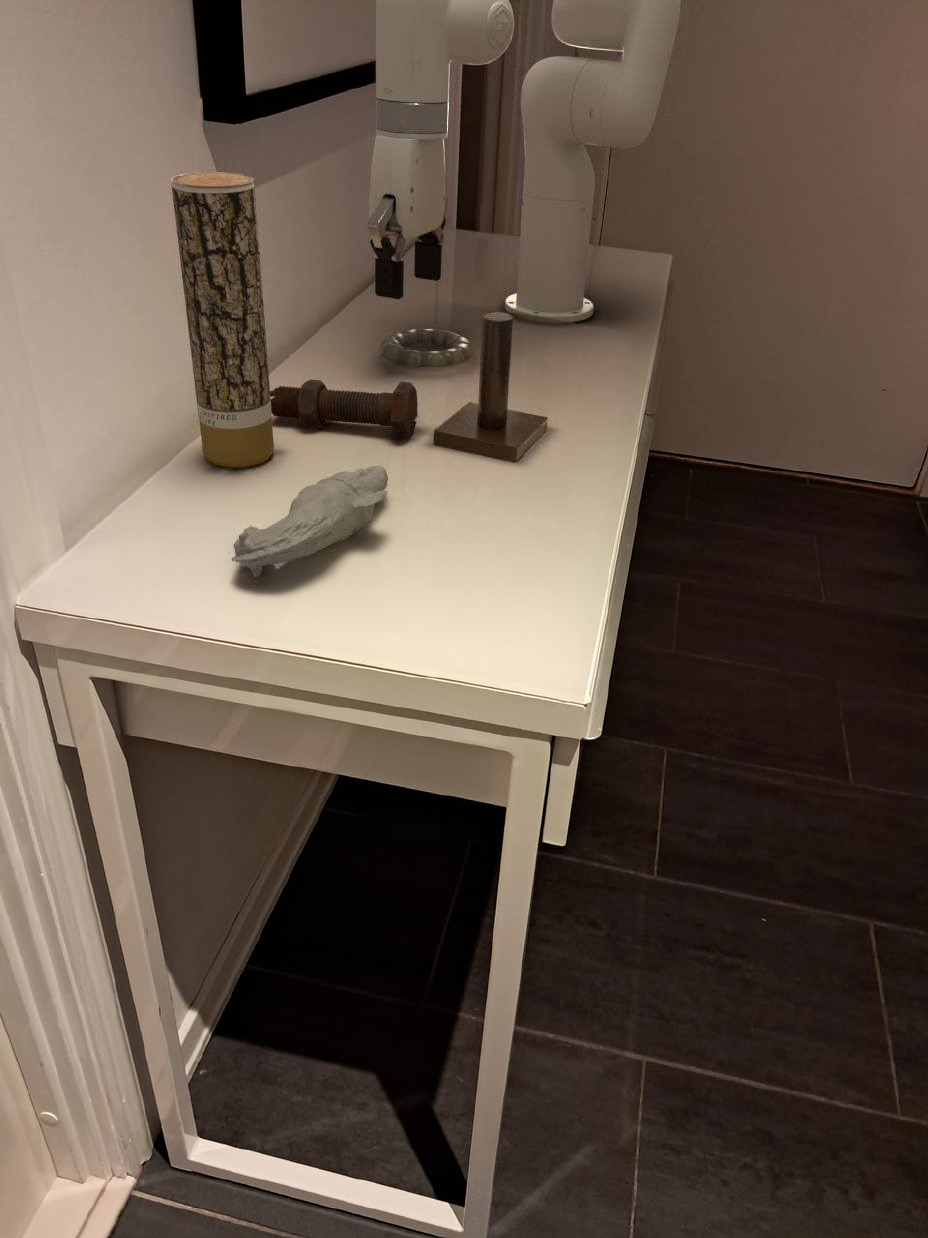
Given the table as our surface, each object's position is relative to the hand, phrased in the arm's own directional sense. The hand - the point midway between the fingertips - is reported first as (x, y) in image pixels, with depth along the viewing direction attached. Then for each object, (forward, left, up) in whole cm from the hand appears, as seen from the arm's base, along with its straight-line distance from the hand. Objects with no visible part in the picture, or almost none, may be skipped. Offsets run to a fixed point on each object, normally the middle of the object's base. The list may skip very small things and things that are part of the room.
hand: (408, 287), depth 112 cm
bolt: (+18, +1, -10) cm, 21 cm away
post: (+13, +16, -10) cm, 23 cm away
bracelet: (-5, 0, -9) cm, 10 cm away
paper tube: (+29, -4, -10) cm, 31 cm away
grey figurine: (+39, +11, -10) cm, 42 cm away
